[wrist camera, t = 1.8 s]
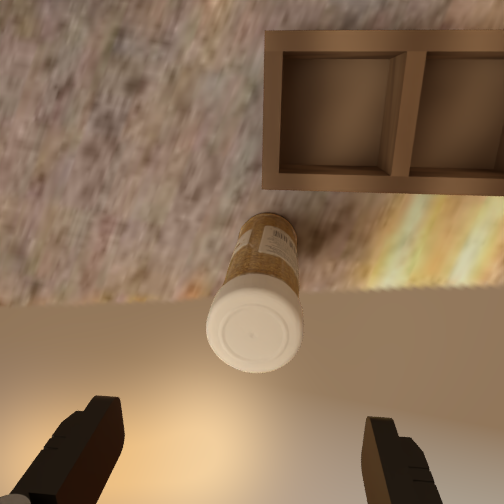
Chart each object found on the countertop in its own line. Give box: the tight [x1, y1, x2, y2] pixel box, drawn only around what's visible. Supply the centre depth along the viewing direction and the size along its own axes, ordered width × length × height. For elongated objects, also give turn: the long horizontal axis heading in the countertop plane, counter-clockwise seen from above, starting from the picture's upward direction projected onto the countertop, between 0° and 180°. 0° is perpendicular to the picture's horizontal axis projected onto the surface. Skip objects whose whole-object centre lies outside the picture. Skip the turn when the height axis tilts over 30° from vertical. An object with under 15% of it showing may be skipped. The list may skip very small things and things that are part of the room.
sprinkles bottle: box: [206, 213, 304, 373], centre depth 24 cm, size 5×5×14 cm
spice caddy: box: [262, 30, 504, 196], centre depth 25 cm, size 16×9×5 cm, turn 90°
